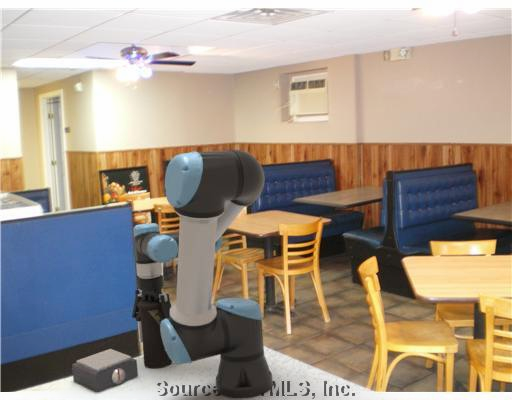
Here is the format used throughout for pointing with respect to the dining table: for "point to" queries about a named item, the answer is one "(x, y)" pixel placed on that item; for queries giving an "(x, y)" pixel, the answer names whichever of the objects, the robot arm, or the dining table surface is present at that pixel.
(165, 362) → the container
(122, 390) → the dining table surface
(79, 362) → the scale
